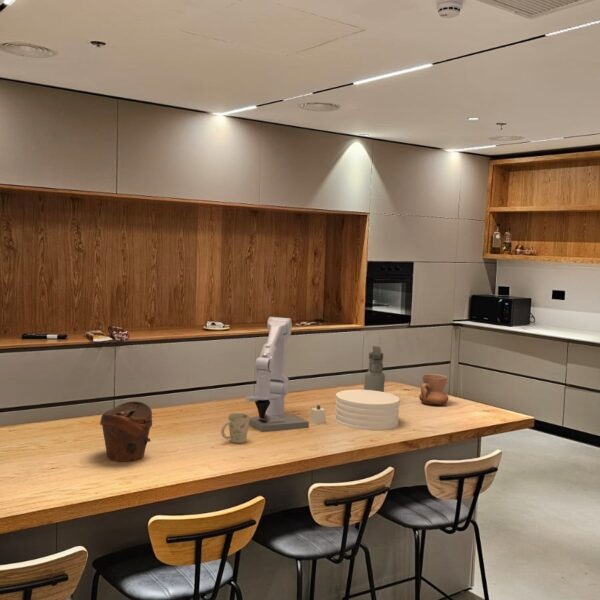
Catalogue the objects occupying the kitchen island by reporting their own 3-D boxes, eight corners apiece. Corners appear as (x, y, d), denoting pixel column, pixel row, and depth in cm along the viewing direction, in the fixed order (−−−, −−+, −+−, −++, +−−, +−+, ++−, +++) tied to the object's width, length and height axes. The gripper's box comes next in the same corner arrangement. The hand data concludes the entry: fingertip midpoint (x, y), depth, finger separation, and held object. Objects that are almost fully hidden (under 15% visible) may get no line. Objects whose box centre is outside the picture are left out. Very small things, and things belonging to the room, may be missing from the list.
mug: (253, 441, 273) (254, 416, 272) (228, 447, 264) (230, 421, 263) (238, 436, 278) (240, 411, 278) (214, 442, 269) (215, 416, 268)
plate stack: (360, 433, 293) (361, 406, 292) (322, 417, 317) (323, 392, 316) (411, 426, 308) (412, 401, 307) (371, 411, 332) (372, 387, 331)
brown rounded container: (102, 467, 234) (105, 414, 233) (94, 449, 252) (97, 400, 251) (156, 463, 241) (159, 412, 240) (144, 447, 259) (147, 399, 258)
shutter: (259, 418, 298) (259, 413, 298) (276, 416, 302) (276, 411, 302) (267, 423, 291) (267, 417, 291) (284, 421, 295) (285, 416, 295)
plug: (310, 421, 307) (311, 405, 306) (320, 421, 309) (321, 404, 309) (315, 424, 303) (316, 407, 303) (325, 423, 306) (326, 406, 305)
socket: (247, 423, 299) (247, 417, 298) (292, 419, 309) (293, 413, 309) (261, 432, 287) (261, 426, 286) (308, 427, 297) (308, 421, 297)
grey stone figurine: (384, 406, 343) (387, 349, 340) (363, 405, 343) (367, 348, 340) (381, 401, 353) (385, 346, 351) (362, 400, 353) (365, 345, 351)
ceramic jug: (434, 399, 366) (435, 372, 365) (455, 404, 354) (457, 376, 353) (409, 402, 355) (410, 375, 354) (430, 409, 344) (432, 380, 342)
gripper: (251, 388, 286) (249, 421, 287) (283, 386, 293) (281, 418, 294) (244, 385, 292) (242, 417, 293) (275, 383, 299) (273, 414, 300)
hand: (261, 417), depth 294 cm, fingers closed
